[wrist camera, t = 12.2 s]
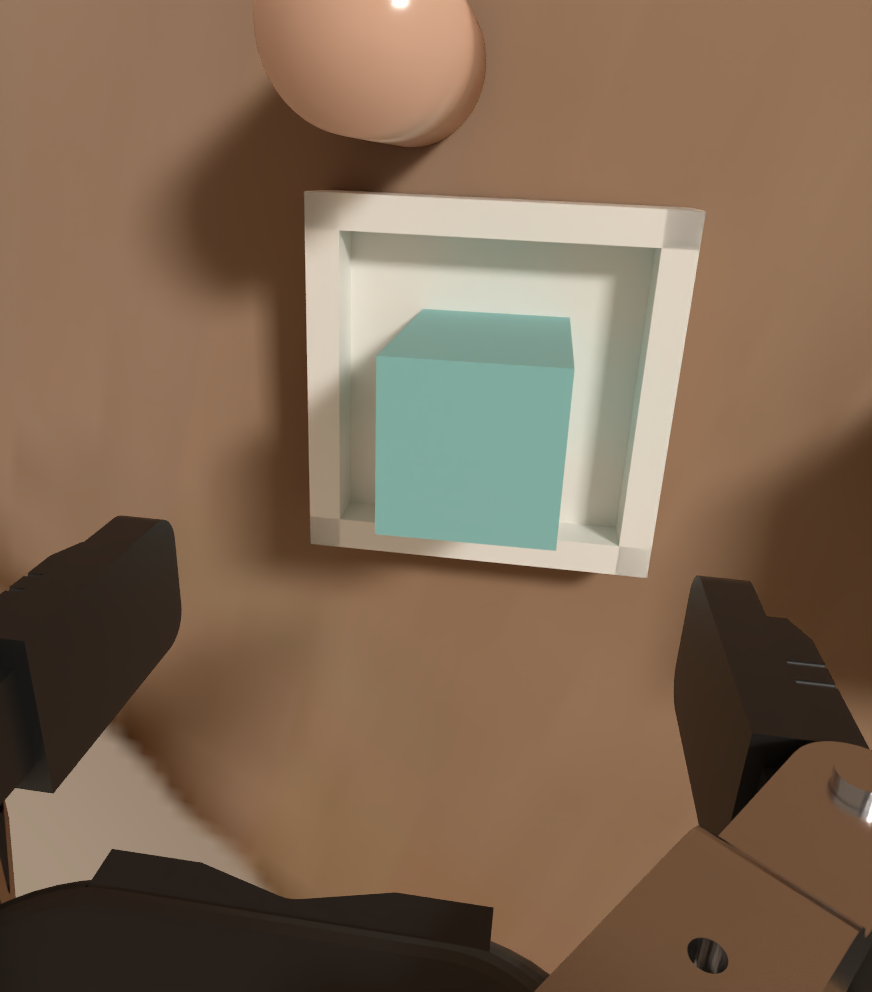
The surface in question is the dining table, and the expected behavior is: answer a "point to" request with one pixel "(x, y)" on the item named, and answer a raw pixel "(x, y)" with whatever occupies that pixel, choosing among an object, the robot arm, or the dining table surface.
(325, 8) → the peach capsule
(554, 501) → the teal block
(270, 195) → the dining table surface
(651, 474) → the tray
